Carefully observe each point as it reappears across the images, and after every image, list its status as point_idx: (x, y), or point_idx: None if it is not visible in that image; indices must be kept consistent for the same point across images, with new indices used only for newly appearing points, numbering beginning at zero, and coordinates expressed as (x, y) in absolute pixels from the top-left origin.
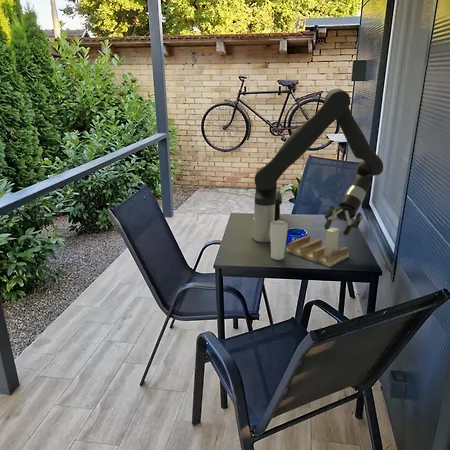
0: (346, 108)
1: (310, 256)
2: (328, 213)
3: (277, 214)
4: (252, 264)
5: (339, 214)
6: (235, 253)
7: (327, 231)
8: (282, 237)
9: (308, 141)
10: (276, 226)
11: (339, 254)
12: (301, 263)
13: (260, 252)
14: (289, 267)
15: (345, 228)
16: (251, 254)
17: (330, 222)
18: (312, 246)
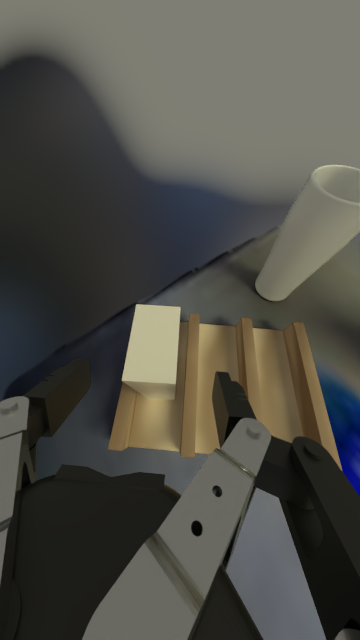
0: None
1: (205, 324)
2: (333, 506)
3: None
4: (274, 238)
5: (152, 532)
6: (345, 254)
7: (170, 309)
8: (283, 223)
9: None
10: (323, 169)
11: None
12: (206, 297)
13: (322, 289)
14: (213, 266)
15: (66, 375)
16: (322, 269)
17: (223, 430)
18: (242, 380)
